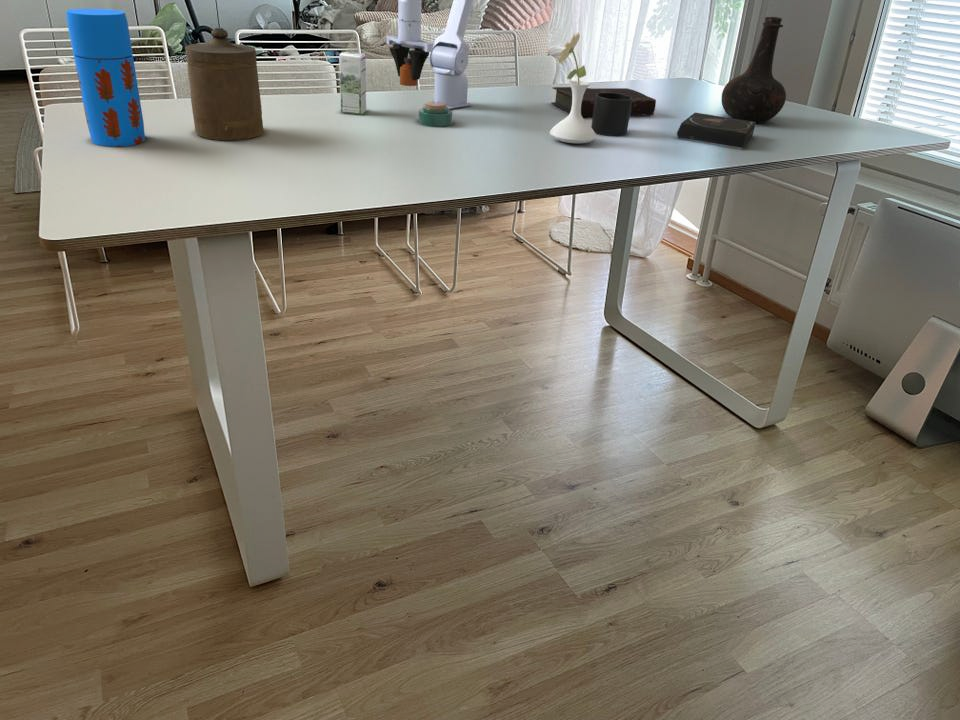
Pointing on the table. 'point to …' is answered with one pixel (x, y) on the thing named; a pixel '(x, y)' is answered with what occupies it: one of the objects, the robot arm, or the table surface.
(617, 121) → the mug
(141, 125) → the thermos
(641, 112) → the diary
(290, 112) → the table surface
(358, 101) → the syrup box
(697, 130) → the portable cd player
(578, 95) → the flower in vase
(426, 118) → the green round container
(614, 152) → the table surface
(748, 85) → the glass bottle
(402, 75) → the amber bottle
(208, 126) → the wooden container
